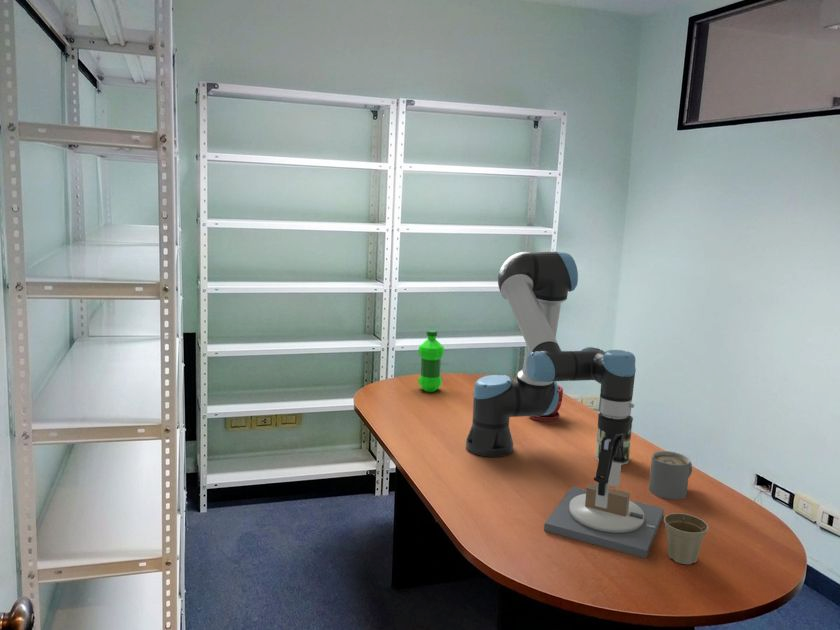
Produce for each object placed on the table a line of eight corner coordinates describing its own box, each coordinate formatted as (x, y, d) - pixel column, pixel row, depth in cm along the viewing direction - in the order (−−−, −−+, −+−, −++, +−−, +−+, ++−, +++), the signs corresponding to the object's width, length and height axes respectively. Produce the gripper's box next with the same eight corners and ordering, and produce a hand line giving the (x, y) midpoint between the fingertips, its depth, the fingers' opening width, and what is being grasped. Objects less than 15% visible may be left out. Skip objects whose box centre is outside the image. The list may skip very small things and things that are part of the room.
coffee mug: (663, 501, 177) (667, 466, 175) (641, 485, 186) (644, 452, 185) (704, 496, 181) (708, 462, 179) (680, 481, 190) (684, 448, 189)
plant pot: (568, 419, 241) (570, 388, 238) (542, 425, 233) (544, 393, 231) (543, 409, 251) (545, 379, 249) (517, 415, 244) (519, 384, 242)
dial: (560, 520, 160) (562, 495, 159) (579, 492, 176) (581, 469, 175) (636, 540, 152) (638, 514, 151) (649, 509, 167) (652, 485, 166)
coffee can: (627, 454, 209) (631, 412, 207) (630, 467, 199) (634, 423, 197) (593, 451, 211) (597, 409, 209) (595, 463, 201) (599, 419, 199)
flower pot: (653, 547, 154) (656, 512, 152) (691, 546, 154) (695, 512, 153) (671, 569, 144) (675, 533, 143) (712, 568, 145) (716, 532, 144)
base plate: (543, 530, 160) (544, 521, 159) (571, 493, 180) (572, 485, 180) (646, 558, 148) (647, 549, 148) (663, 515, 169) (663, 507, 169)
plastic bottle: (434, 395, 265) (436, 334, 261) (412, 390, 271) (414, 331, 266) (447, 389, 273) (449, 331, 269) (425, 385, 279) (427, 327, 275)
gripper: (619, 432, 147) (611, 520, 150) (640, 403, 168) (633, 481, 172) (585, 426, 150) (579, 512, 154) (610, 398, 172) (604, 474, 176)
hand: (607, 495), depth 163 cm, fingers open, 13 cm apart
